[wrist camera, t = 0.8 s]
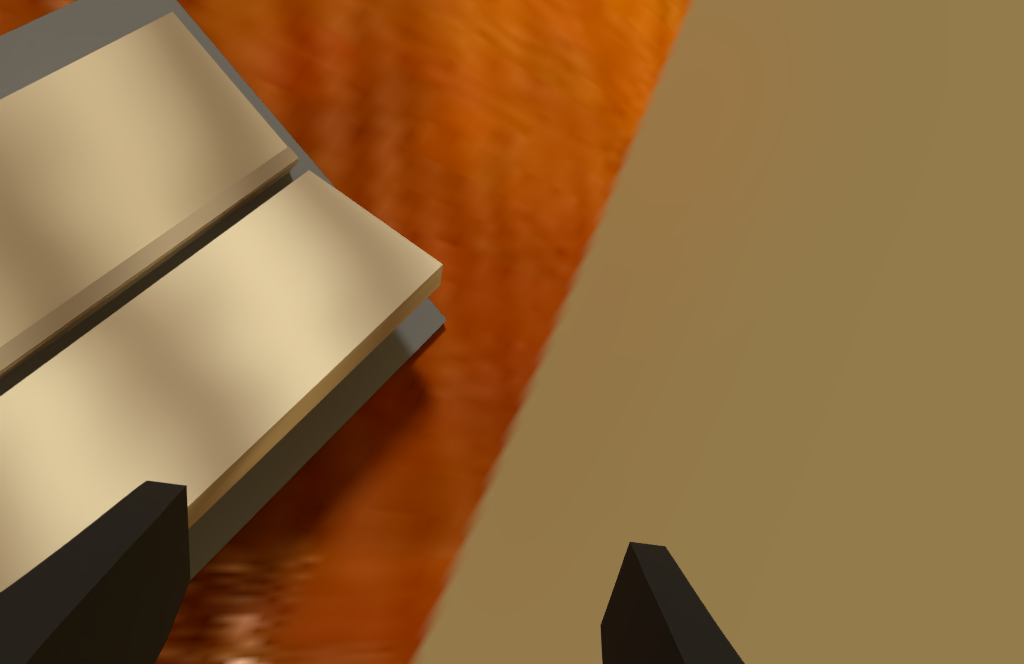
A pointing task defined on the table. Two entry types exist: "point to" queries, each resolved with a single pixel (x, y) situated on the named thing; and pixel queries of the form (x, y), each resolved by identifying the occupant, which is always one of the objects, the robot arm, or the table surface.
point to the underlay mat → (79, 32)
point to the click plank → (203, 367)
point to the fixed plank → (118, 176)
